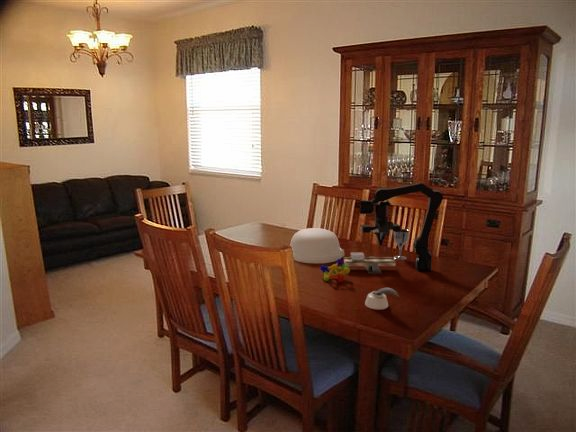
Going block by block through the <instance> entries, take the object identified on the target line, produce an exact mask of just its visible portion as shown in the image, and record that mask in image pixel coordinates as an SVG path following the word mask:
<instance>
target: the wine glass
mask: <svg viewBox="0 0 576 432" xmlns="http://www.w3.org/2000/svg"><path fill="white" fill-rule="evenodd" d="M409 237H410V230H409V229H405V228H401V232H394V231H393V240H394V242H395V243H396V245H397V246H398V249H399V254H398V255H394V256H393V260H397V261H405V260H407V257H406V256H403V255H402V249H403V246H405V244H407V242H408V240H409Z"/></svg>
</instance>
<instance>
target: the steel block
mask: <svg viewBox="0 0 576 432" xmlns="http://www.w3.org/2000/svg"><path fill="white" fill-rule="evenodd" d="M350 257H351V258H350V259H351V261H364V257H365V253H364V252H360V251H359V252H356V251H355V252H350Z"/></svg>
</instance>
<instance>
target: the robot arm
mask: <svg viewBox="0 0 576 432" xmlns="http://www.w3.org/2000/svg"><path fill="white" fill-rule="evenodd" d="M419 192H420V193H422V194H423V195H424V196H426V197H427V198H428V199H427V210H426V213H425V217H424V220H423V223H422V228H421V231H420V234H419V236H418V237H416V236H415V237H414V242H413V244H412V245H413V248H414V252H415V254H416V255H417V256H416V259H415V264H414V265H415V269H416V270H417V271H418V272H432V271H433V270H432V261H433V260H432V257H433V256H432V253H431V251H430V250H429V237H430V234H431V231H432V228H433V227H432V226H433V224H434V220H435V218H436V217H435V216H436V213H437V211H438V209H439V208H440V206H441V204H442V202H443V201H444V195H443V194H442V192H441V191H439V190H438V189H433V188H431V187H429V186H428V185H426V184H424V182H422V181H419V182H417V183H411V184H407V185H406V184H405V185H401V186H397V187H380V188H377V189H376V191H375V195H374V196H373V198H371V200H366V199H365V200H364V199H361V200H360V205H359V214H360V215H372V214H373V213H374V226H371V225H370V224H361V226H360V231H361V232H362V233H371V232H372V233H373V234H374V235H375V237H376V240H377V242H378V246H382V244H383V242H384V239H385V237H386V236H387V235H388V234H390V231H393V233H394V232H401V229H402V227H401V225H400V224H398V223H394V222H393V221H388V206H389V207H390V206H392V203H391V202H390V201H389V200H390V199H392V198H395V197H399V196H403V195H409V194H413V193H419Z"/></svg>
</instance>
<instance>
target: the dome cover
mask: <svg viewBox="0 0 576 432" xmlns="http://www.w3.org/2000/svg"><path fill="white" fill-rule="evenodd" d="M340 245H341V244H340V242H339V239H338V237H337V235H336V234H335V233H334V232H333V231H331V230H328V229H325V228H318V227H310V228H309V227H308V228H303V229H301V230H298V231H296V232H295V233H294V235H292V237H291V241H290V244H289V246H291V247H292V251H293V257H294V260H293V261H296V262H298V263H304V264H305V263H306V264H328V263H333V262H337V259H341V260H342V258H344V257H345V249H344V248H341V247H340Z"/></svg>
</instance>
